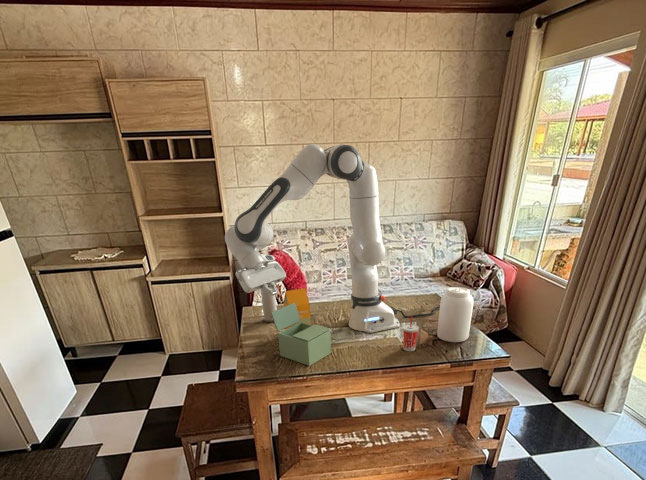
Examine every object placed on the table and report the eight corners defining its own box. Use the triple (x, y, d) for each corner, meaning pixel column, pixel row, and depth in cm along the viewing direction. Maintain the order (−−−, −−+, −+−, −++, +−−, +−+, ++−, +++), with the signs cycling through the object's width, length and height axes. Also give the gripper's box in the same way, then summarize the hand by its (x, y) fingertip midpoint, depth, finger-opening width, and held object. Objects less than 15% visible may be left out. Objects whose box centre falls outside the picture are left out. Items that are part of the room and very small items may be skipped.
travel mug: (276, 322, 187) (271, 280, 177) (262, 322, 188) (257, 279, 178) (280, 317, 192) (276, 276, 183) (266, 317, 194) (262, 275, 184)
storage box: (280, 355, 157) (277, 330, 152) (302, 343, 166) (300, 320, 161) (309, 365, 149) (307, 340, 144) (331, 353, 158) (330, 328, 153)
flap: (278, 331, 152) (277, 331, 153) (300, 320, 161) (300, 320, 161) (271, 312, 150) (270, 312, 151) (294, 302, 159) (294, 302, 159)
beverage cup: (415, 345, 161) (417, 311, 154) (418, 351, 156) (421, 317, 149) (399, 345, 161) (401, 312, 154) (403, 352, 156) (405, 318, 149)
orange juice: (286, 333, 175) (282, 288, 166) (305, 330, 178) (302, 285, 169) (292, 340, 169) (288, 294, 159) (311, 336, 172) (309, 290, 162)
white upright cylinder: (444, 344, 160) (450, 295, 151) (431, 332, 171) (436, 285, 162) (473, 341, 162) (481, 292, 152) (459, 329, 173) (466, 283, 163)
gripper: (236, 266, 146) (257, 297, 146) (276, 254, 160) (296, 283, 159) (229, 276, 151) (250, 306, 150) (269, 264, 165) (288, 292, 164)
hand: (274, 294), depth 155 cm, fingers closed
